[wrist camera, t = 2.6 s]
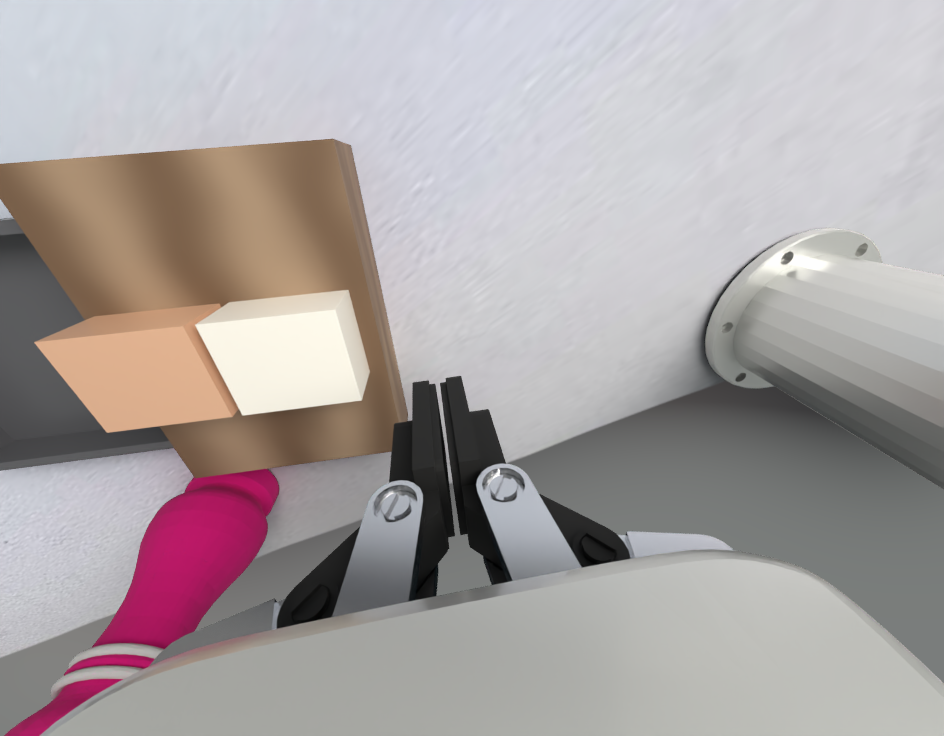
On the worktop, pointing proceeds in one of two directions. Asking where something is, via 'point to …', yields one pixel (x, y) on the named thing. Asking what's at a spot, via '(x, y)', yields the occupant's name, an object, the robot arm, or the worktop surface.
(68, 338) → the tan rectangular block
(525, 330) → the worktop surface
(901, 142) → the worktop surface
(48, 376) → the bin
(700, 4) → the worktop surface
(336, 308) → the tile cream
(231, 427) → the walnut block
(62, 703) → the pepper mill
